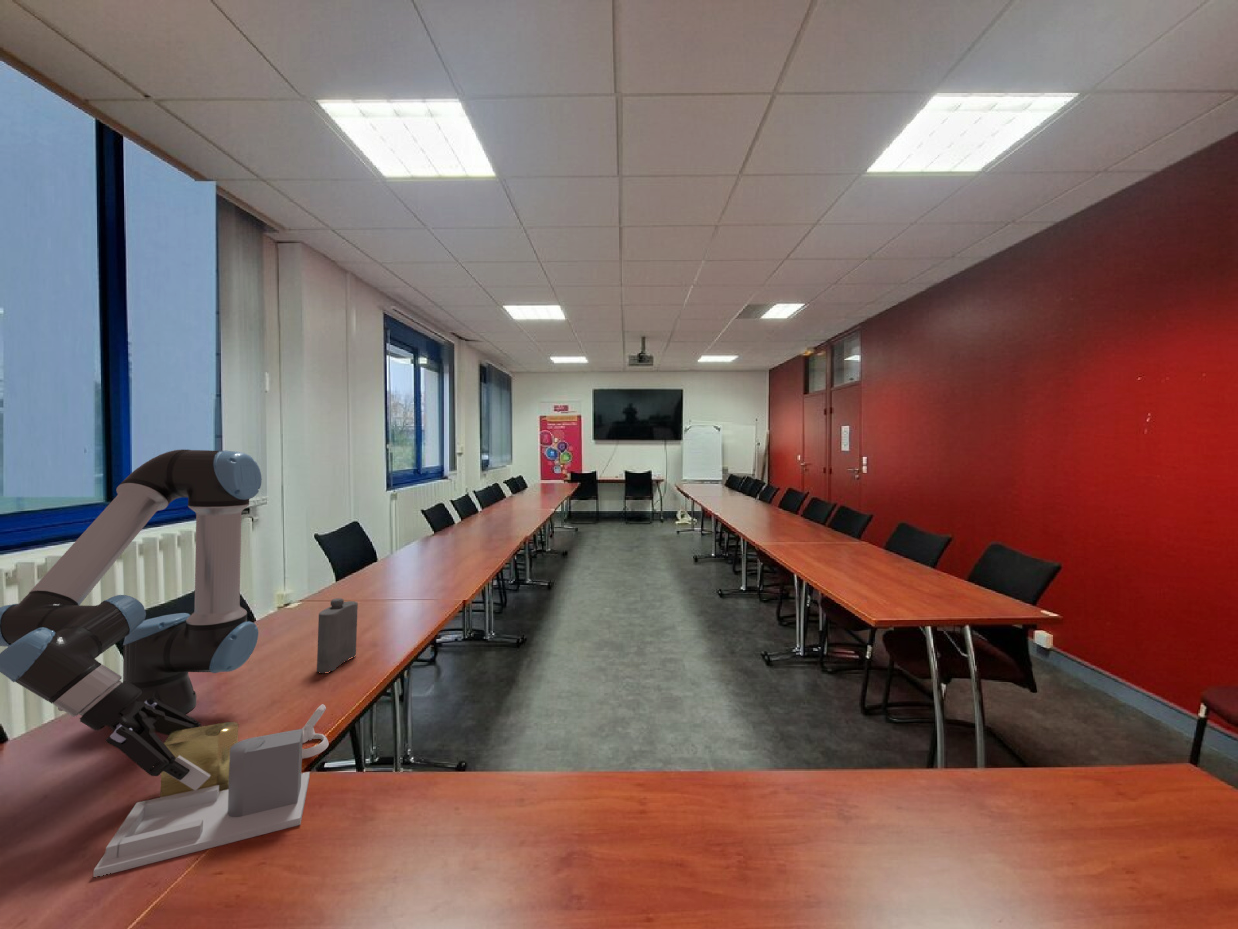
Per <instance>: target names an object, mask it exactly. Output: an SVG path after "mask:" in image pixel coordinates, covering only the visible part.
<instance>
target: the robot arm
mask: <svg viewBox="0 0 1238 929" xmlns="http://www.w3.org/2000/svg"><path fill="white" fill-rule="evenodd" d="M262 480H263V479H262V473H261V469H260V466H259V464H258V463H257V461H255V460H254V458H253V457H252V456H251V455H249V454H247V453H245V452H241V451H232V450H228V449H227V450H203V449H201V450H200V449H196V450H195V449H183V448H182V449H174V450H170V451H167V452H164V453H161V454H159V455H156V456H155V457H152V458H151V459H149V460H148V461H146V462H144V463H143V464H141V465H140V466H139V467H137V468H136V469H134V470H133V471H132V472H131V473H130V474H129V475H128V476H127V477H126V478H125V479H124V480H122V482H121V483H120V484H118V486H117V487H116V490H115V491H116V494H117V495H116V496H115V497H114V498H113V500H112V501H111V502H109V503H108V505H107V506H106V507H105V508H104V510H102V512H100V514H99V515H98V516H97V517H96V518H95V519H94V520H93V522H92V523H91V524H90V525H89V526H88V527H87V528H86V530H84V531H83V533H82V534H81V535H80V536H79V537H78V538H77V539H76V540H75V542H73V544H72V545H71V546H70V547H69V548H68V549H67V550H66V551H65V552H64V553H63V554H62V556H61V557H60V558H59V559H58V560H57V561H56V562H55V564H53V566H51V568H50V569H49V570H48V571H47V572H46V573H45V575H43V577H42V578H41V579H40V580H39V581H38V582H37V584H35V585H34V587H32V589H31V590H30V591H29V592H28V593H27V595H25V596H24V598H23V599H22V600H21V601H20V602H19V603H12V604H6V605H2V606H0V647H6V648H5V649H3V650H2V651H0V674H2V675H3V676H5V677H6V678H8V679H9V680H10V681H11V682H13V683H16V684H17V685H20V686H21V687H22V688H25V689H26V690H28V691H30V692H32V693H33V694H35V695H37V696H38V697H40V698H41V699H43V700H44V701H46V702H49V703H50V704H53V705H54V707H57V711H60V712H62V711H63V712H65V713H66V714H68V715H70V716H71V717H73V718H74V717H77V716H81V717H79V722H80V723H82V724H84V725H85V726H87V727H89V728H90V729H92V730H93V731H96V732H97V731H100V730H102V729H103V728H105V726H108V728H110V729H111V730H112V731H113V732H112V733H111V734H110V735H109V736H108V737H107V738H105V742H106V743H107V744H109V745H111V746H113V747H115V748H116V749H118V750H119V751H120V752H121V753H123V754H124V755H125V756H127V757H128V758H129V759H130V760H131V761H133V762H134V763H135V764H136V766H138V767H140V768H141V769H142V770H143V771H144V772H146V774H148V775H149V776H151V777H159V776H161V773H162V772H163V771H164V772H166V773H167V774H169V775H170V776H172V777H174V778H175V779H177V780H179V781H180V782H182V783H184V784H185V785H187V786H188V787H190V788H192V789H193V790H195V791H196V790H197V789H198V788H199V787H200V786H201V785H202V784H203V783H204V782H205V781H206V780H207V779H208V778H209V777H210V776H211V775H210V774H209V773H207V772H205V771H204V770H202V769H201V768H199V767H197V766H196V765H194V764H193V763H191V762H190V761H188V760H186V759H185V758H183V757H182V756H180V755H179V756H178V757H177V758H176V757H175V756H174V755H173V754H172V753H171V751H170V750H169V749H168V748H167V747H166V746H165V744H164V742H163V741H162V740H161V739H160V737H159V736H158V735H157V734H156V732H157V733H159V734H162V735H165V736H166V735H167V736H169V735H170V734H171V733H172V731H178V730H184V729H190V728H196V727H202V723H201V722H199V721H198V720H197V719H195V718H193V717H192V716H189V715H188V714H187V713H189V712H191V711H192V710H193V709H194V708H195V707H196V706H197V693H196V691H195V690H194V687H193V683H192V681H191V678H190V676H189V673H212V674H218V673H227V672H228V673H230V672H234V671H236V670H237V669H240V668H241V667H242V666H243V665H244V664H245V663H246V662H247V661H248V660H249V658H250V657H251V655H252V654H253V653H254V650H255V648H256V646H257V643H258V640H259V628H258V626H257V625H256V624H255V623H254V622H252V621H250V620H248V612H247V610H246V609H245V608H243V607H242V606H241V605H240V602H241V601H240V600H241V599H240V598H241V597H240V596H241V592H240V591H241V556H242V555H241V554H242V553H241V551H242V550H241V548H242V546H241V545H242V544H241V543H242V513H243V511H244V510H245V509H246V508H248V507H249V506H250V500H251V499H252V498H254V497H255V496H257V495H258V494H259V490H260V489H261V486H262ZM180 498H187V499H188V500H187V507H188V508H189V509H190V510H191V511H193V512H195V517H196V518H195V520H196V522H195V524H196V525H195V561H194V562H195V567H194V571H195V572H194V577H195V578H194V610H193V611H194V612H192V613H191V614H190V613H188V612H180V613H172V614H171V613H170V614H166V615H165V614H164V615H161V616H157V617H156V616H155V617H152V618H147V619H146V616H147V612H146V609H145V606H144V605H143V603H142V602H141V601H140V600H138V599H137V598H135V597H133V596H130V595H127V594H126V595H125V594H117V595H114V596H111V597H109V598H108V599H105V600H103V601H101V602H100V603H99V604H97V605H81V604H82V603H83V601H84V600H85V599H86V598H87V597H88V595H90V593H91V592H92V591H93V589H94V588H95V587H96V586H97V584H98V583H99V582H100V581H101V580H102V579H103V577H104V576H105V575H106V573H107V572H108V571H109V570H110V569H111V567H112V566H113V565H114V564H115V562H116V561H118V559H119V558H120V557H121V555H122V554H123V553H124V551H126V549H127V548H128V547H129V546H130V545H131V543H132V542H133V541H134V539H136V537H137V536H138V535H139V533H140V532H141V531H142V529H144V527H145V526H146V525H147V524H148V522H149V521H150V520H151V519H152V517H153V516H154V515H155V514H156V513H157V512H158V511H163V510H165V509H166V508H167V507H168V506H169V505H170V503H172V502H173V501H174V500H176V499H180ZM123 639H124V641H123V644H122V645H123V652H122V653H123V654H122V655H123V657H122V658H123V659H122V662H123V667H122V671H123V672H122V676H121V675H120V674H118V673H117V672H115V671H113V669H111V668H109V667H107V666H106V665H104V664H102V662H99V661H98V660H97V659H96V658H98V657H99V656H100V655H102V654H103V653H104V652H106V651H108V650H109V649H110V648H112V647H113V646H114V645H116V644H117V643H119V642H120V641H122V640H123ZM121 679H123V680H122V681H121Z"/></svg>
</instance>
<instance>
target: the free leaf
mask: <svg viewBox="0 0 1238 929" xmlns="http://www.w3.org/2000/svg"><path fill="white" fill-rule="evenodd" d="M238 742H239V723H238V722H234V721H228V722H221V723H216V724H209V725H204V726H203V725H201V726H200V727H196V728H190V729H184V730H178V731H172V733H171V734H170V735H168V737H167V738H166V740H165V741H164V742H163V743H164V744H165V746H166V747H167V748H168V749H169V750H170V751H171V753H172V754H173V755H174V756H175V757H176V758H177V757H178V756H179V755H180V756H182V757H183V758H185V759H186V760H188V761H190V762H191V763H193V764H194V765H196V766H197V767H199V768H201V769H202V770H204V771H205V772H207V773H209V774H210V775H211V776H210V777H209V778H208V779H207V780H206V781H205V782H204V783H203V784H202V785H201V786H200V787H199V788H198V789H203V788H207V787H212V786H217V785H219V791H223V790H228V789H229V763H230V748H231V747H232V746H233V745H234V744H236V743H238ZM198 789H197V790H198ZM189 791H193V789H192V788H190V787H188V786H187V785H185V784H184V783H182V782H180V781H179V780H177V779H175V778H174V777H172V776H170V775H169V774H167V773H166V772H164V771H163V772H162V773H161V774H160V797H165V796H170V795H174V794H179V793H184V792H189ZM160 797H159V798H160Z"/></svg>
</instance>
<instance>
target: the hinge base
mask: <svg viewBox="0 0 1238 929" xmlns="http://www.w3.org/2000/svg"><path fill="white" fill-rule="evenodd" d="M302 741H303V729H302V728H299V729H293V730H287V731H282V732H277V733H271V734H266V735H265V734H264V735H260V736H254V737H249V738H246V739H242V740H240V741H238V743H236V744H234V745H233V746H232V747H231V748H230V763H229V789H228V790H223V791H219V785H217V786H212V787H207V788H203V789H198V790H196V791H195V790H193V791H189V792H184V793H179V794H174V795H170V796H165V797H156V798H153V799H148V800H143V801H137V802H136V803H135V805H133V808H132V809H131V810H130V812H129V813H128V814H127V816H126V818H125V819H124V821H123V822H122V823H121V825H120V826H119V828H118V829H117V831H116V833H115V834H114V835H113V837H112V838H111V839H110V841H109V843H108V844H107V846H106V847H105V853H104V854H103V856H102V857H101V859H100V860H99V861H98V863H97V865H95V867H94V869H93V877H96V876H100V877H104V876H107V875H106V874H108V875H111V874H114V873H119V872H122V871H126V870H130V869H134V868H138V867H142V866H146V865H150V864H153V863H158V862H162V861H165V860H168V859H169V860H171V859H173V858H176V857H180V856H184V855H189V854H192V853H196V852H200V851H203V850H208V849H211V848H215V847H221V846H224V845H229V844H231V843H235V842H238V841H242V840H247V839H250V838H254V837H258V836H261V835H262V836H263V835H266V834H269V833H274V832H277V831H281V830H285V829H290V828H294V827H298V826H301V824H302V823H301V822H302V817H303V813H304V808H305V802H306V798H307V793H308V788H309V782H310V774H311V772H310V771H306V772H303V773H302V770H303V769H302V765H303V764H302V762H303V759H302V749H303V743H302ZM110 873H111V874H110ZM103 875H104V876H103ZM96 878H97V877H96Z"/></svg>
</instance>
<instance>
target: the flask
mask: <svg viewBox="0 0 1238 929" xmlns="http://www.w3.org/2000/svg"><path fill="white" fill-rule="evenodd" d="M358 605H359V603H358V602H357V601H351V600H350V601H345V600H344V599H343V598H340V597H339V598H333V599H332V600H331V601H330V606H329V607H327V608H325V609H323V610H321V611H320V612H319V613H318V624H317V625H318V626H317V627H318V629H317V650H316V651H317V655H316V657H317V658H316V673H317V672H320V673H325V672H329V671H333V670H334V671H336V670H337V668H336V667H338V666H339V665H340V664H342V663H343V662H344V661H347V660H348V659H349V658H351V657H354V656H355V655H356V656H357V633H358V607H359V606H358ZM354 658H355V657H354ZM347 662H348V661H347ZM343 664H344V663H343ZM343 664H342V665H343ZM340 666H341V665H340ZM340 666H339V667H340ZM339 667H338V668H339ZM334 671H333V672H334Z"/></svg>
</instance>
